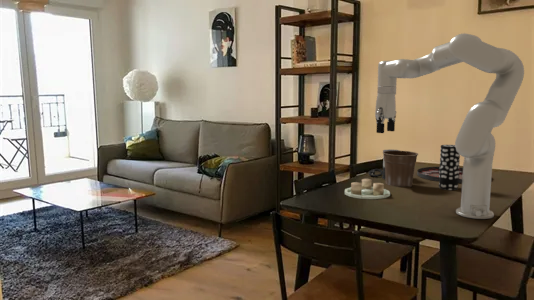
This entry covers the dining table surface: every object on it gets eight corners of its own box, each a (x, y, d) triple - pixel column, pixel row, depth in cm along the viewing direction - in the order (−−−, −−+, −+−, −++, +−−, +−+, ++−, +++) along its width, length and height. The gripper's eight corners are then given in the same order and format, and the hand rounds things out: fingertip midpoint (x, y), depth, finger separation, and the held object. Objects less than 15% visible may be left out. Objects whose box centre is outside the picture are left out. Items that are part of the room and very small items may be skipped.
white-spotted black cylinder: (459, 190, 198) (462, 147, 195) (440, 189, 199) (442, 146, 197) (455, 186, 206) (458, 144, 203) (437, 185, 207) (439, 144, 205)
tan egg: (363, 195, 186) (363, 184, 185) (354, 196, 184) (354, 184, 184) (357, 193, 190) (358, 182, 189) (349, 194, 189) (349, 182, 188)
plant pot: (423, 185, 208) (424, 152, 206) (405, 191, 197) (406, 156, 195) (393, 180, 220) (394, 149, 218) (375, 185, 209) (375, 152, 207)
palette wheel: (417, 181, 219) (417, 176, 219) (416, 169, 252) (417, 165, 252) (494, 185, 208) (494, 180, 208) (483, 172, 241) (483, 168, 241)
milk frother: (401, 180, 220) (402, 152, 218) (369, 179, 223) (370, 151, 221) (398, 175, 234) (399, 148, 232) (368, 174, 237) (368, 147, 235)
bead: (371, 192, 192) (372, 181, 191) (361, 191, 193) (361, 180, 192) (371, 189, 196) (371, 179, 195) (361, 189, 197) (361, 178, 196)
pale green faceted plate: (391, 202, 178) (391, 196, 178) (344, 200, 182) (344, 194, 181) (387, 191, 197) (387, 186, 196) (344, 190, 200) (345, 184, 200)
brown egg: (381, 194, 188) (381, 182, 187) (385, 196, 184) (385, 184, 183) (371, 194, 188) (371, 183, 187) (375, 196, 183) (375, 185, 183)
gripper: (387, 91, 189) (386, 130, 191) (368, 91, 176) (367, 133, 178) (404, 90, 184) (402, 131, 186) (385, 91, 171) (384, 134, 173)
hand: (385, 132), depth 182 cm, fingers open, 9 cm apart
